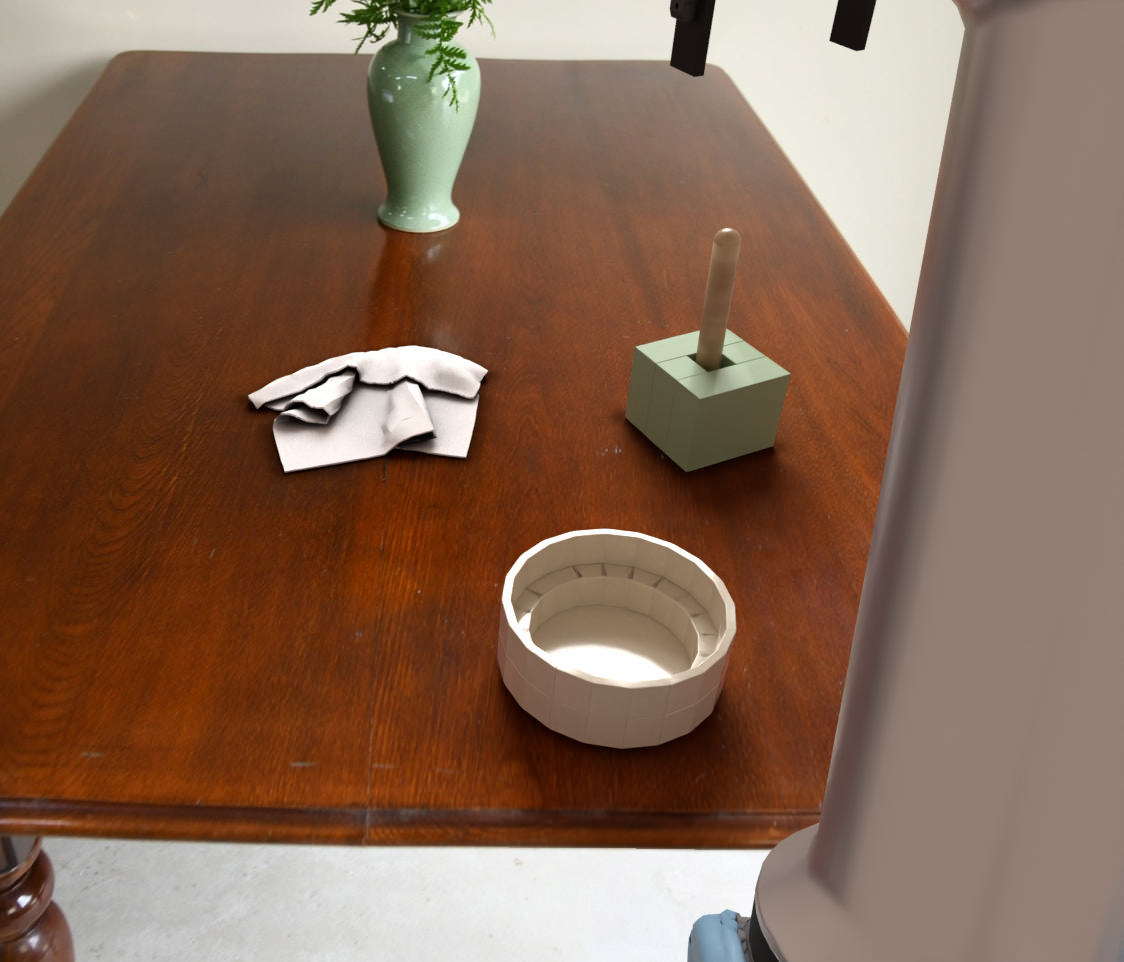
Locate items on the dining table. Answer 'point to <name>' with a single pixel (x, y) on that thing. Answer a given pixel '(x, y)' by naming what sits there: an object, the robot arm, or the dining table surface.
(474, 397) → the cloth
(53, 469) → the dining table surface
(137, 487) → the dining table surface
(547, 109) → the dining table surface
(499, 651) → the bowl
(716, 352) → the stick
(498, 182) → the dining table surface
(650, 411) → the stand
